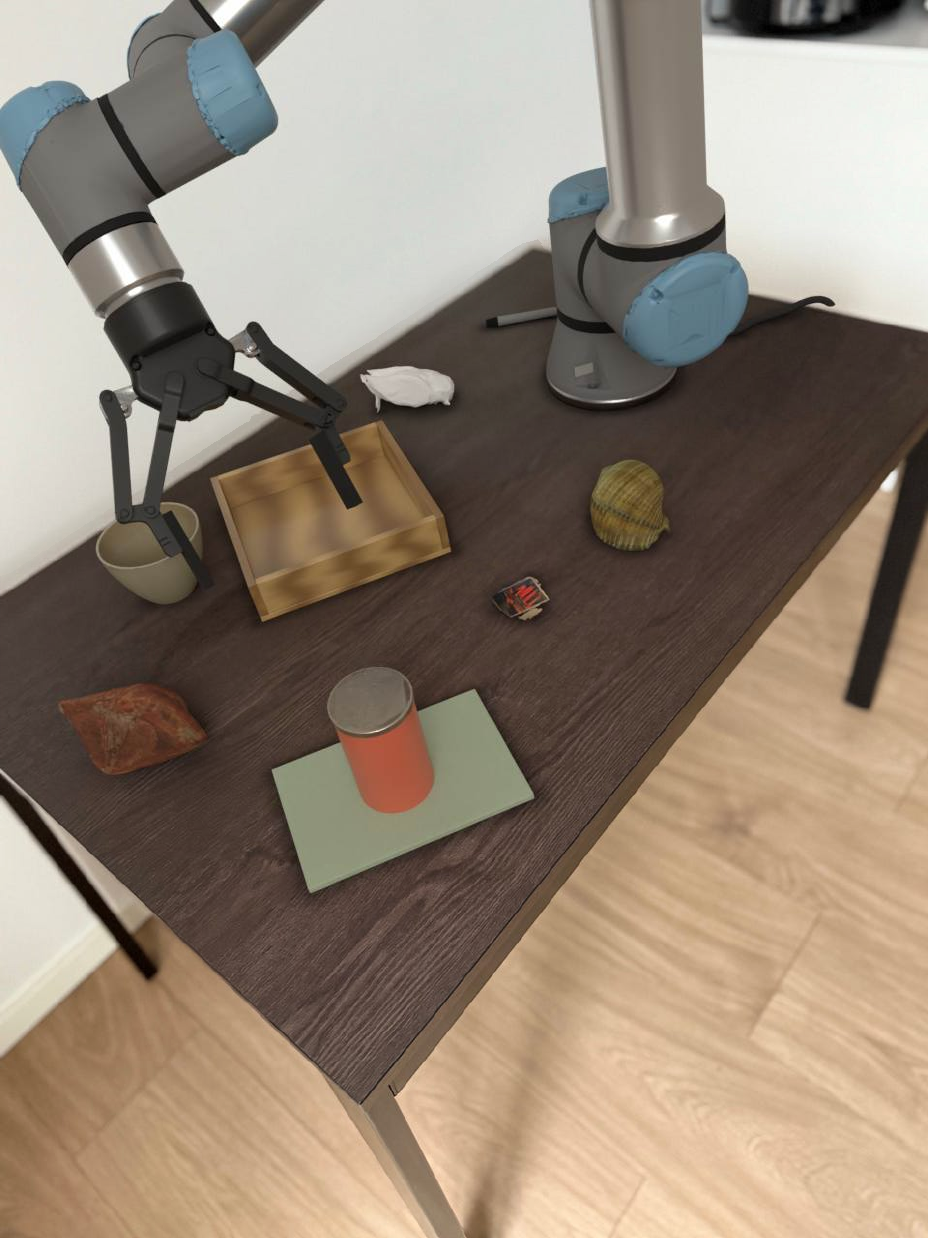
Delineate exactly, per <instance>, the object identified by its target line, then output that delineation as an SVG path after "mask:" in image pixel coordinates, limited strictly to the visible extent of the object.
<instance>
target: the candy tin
mask: <svg viewBox="0 0 928 1238" xmlns="http://www.w3.org/2000/svg"><path fill="white" fill-rule="evenodd" d="M326 709H327V710H326V711H327V714H328V717H329V721H330V722H331V724H332V726H333V727H334V729H335V732H336V734H337V737H338V740H339V743H340V742H341V745H342V748H343V750H344V753H345V755H346V758H347V761H348V763H349V766H350V769H351V771H352V774H353V776H354V779H355V782H356V784H357V787H358V790H359V792H360V795H361V797H362V799H363V800H364V802H365V803H366V804H367V805H368V806H369V807H371V808H372V809H374V810H376V811H379V812H383V813H400V812H404V811H407V810H410V809H412V808H414V807H415V806H417V805H419V804H420V803H421V802H422V801H423V800H424V799H425V798H426V797H427V796H428V794H429V793H430V791H431V789H432V787H433V783H434V770H433V766H432V763H431V759H430V756H429V752H428V748H427V745H426V741H425V738H424V734H423V730H422V727H421V723H420V720H419V716H418V713H417V711H418V710H417V706H416V702H415V695H414V690H413V687H412V684H411V682H410V680H409V679H408V678H407V677H406V675H404V674H403V673H401V672H400V671H398V670H396V669H393V668H390V667H386V666H385V667H384V666H369V667H365V668H362V669H359V670H355V671H354V672H352V673H350V674H347V675H346V676H344V678H342V679H341V680H340V681H339V682H338V683H337V684H336V685H335V686H334V688H332V690H331V692H330V694H329V697H328V699H327V705H326Z"/></svg>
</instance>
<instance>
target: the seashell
mask: <svg viewBox="0 0 928 1238" xmlns="http://www.w3.org/2000/svg"><path fill="white" fill-rule="evenodd" d="M664 493H665V491H664V484H663V482H662V480H661V477H660V476H659V474H658V473H657V471H656V470H655V469H654V468H653V467H651V466H650V465H649V464H647V463H646V462H643V461H641V460H637V459H624V460H621V461H619V462H617V463H615V464H614V463H613V464H610V465H607V466H602V468H601V471H600V473H599V477H598V479H597V482H596V484H595V487H594V489H593V491H592V492H591V497H590V508H589V513H590V520H591V525H592V527H593V531H594V532H595V536H597V537H598V538H599V539H600V540H601V541H602V542H603V543H604V544H606V545H608V546H610V547H613V548H615V549H617V550H621V551H626V552H627V551H631V552H636V551H644V550H648V549H649V548H650V547H651V546H652V544H654V543H655V542H656V541H657V540H658V539H659V537H660V534H661V533H662V532H663V531H665V532H666V533H671V531H670V530H671V529H670V520H669V518H668V516H666V515H665V514H664V513H663V501H664V495H665V494H664Z"/></svg>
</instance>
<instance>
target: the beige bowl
mask: <svg viewBox="0 0 928 1238" xmlns="http://www.w3.org/2000/svg"><path fill="white" fill-rule="evenodd" d="M170 510H172V512H173V514H174V515H175V517H176V519H177V520H178V522H179V524H180V525H181V527H182V529H183V530H184V532H185V534H186V536H187V537H188V539H189V541H190V542H191V544H192V546H193V547H194V549H195V551H196V552H197V554H198V556H199V557H200V559H201V561H202V562H203V555H204V543H203V542H204V541H203V534H202V533H203V532H202V528H201V522H200V520H199V516H198V514H197V512H196V511H195V510H194V509H193V508H191V507H190V506H188V505H186V504H184V503H180V502H171V501H165V502H164V501H163V502H161V505H160V512H161V514H162V515H163V514H165V513H166V512H168V511H170ZM95 554H96V556H97V558H98V560H99V561H100V562H101V564H102V565H103V566H104V568H105V569H106V570H107V571H108V572H109V573H110V574H111V575H112V577H114V578H115V579H116V581H117V582H119V583H120V584H121V585H123V586H124V587H125V588H126V589H128V590H129V591H130V592H132V593H133V594H135V595H137V596H139V597H141V598H143V599H144V600H147V601H148V602H151V603H153V604H156V605H162V606H163V605H164V606H165V605H172V604H175V603H178V602H180V601H183V600H184V599H186V598H188V596H190V595H191V594H192V593H193V592H194V591H195V589H196V587H197V585H198V583H199V582H198V581H197V579H196V577H195V575H194V574H193V572H192V570H191V569H190V567H189V565H188V564H187V562H186V560H185V559H184V557H183V555H182V554H181V553H179V554H177V555H175V556H174V557H172V558H170V557H168V556H167V555H166V554H165V553H164V551H163V550H162V548H161V546H160V545H159V543H158V541H157V540H156V538H155V536H154V535H153V533H152V531H151V530H150V528H149V527H148V525H146V524H145V523H143V522H135V523H127V524H120V523H118V522H117V520H116V519H114V520H113V521H112V522H111V523H110V524H108V525H107V526H106V527H105V528H104V529H103V531H102V532H101V533H100V535H99V536H98V538H97V541H96V545H95Z"/></svg>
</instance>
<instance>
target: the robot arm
mask: <svg viewBox="0 0 928 1238" xmlns="http://www.w3.org/2000/svg"><path fill="white" fill-rule="evenodd" d="M324 2H325V0H172V1H171V2H170V4H168V6H167V7H166V8H165V9H163V11H161V12H157V13H154V14H151V15H148V16H147V17H145V18H144V19H143V20H141V22H140V23H139V24H138V25H137V26H136V28H135V29H134V31H133V33H132V35H131V37H130V41H129V44H128V47H127V50H126V69H127V75H128V76H127V77H128V79H129V80H128V81H126V82H125V83H122V84H121V85H120V86H119V85H118V87H116V88H114V89H113V90H111V91H109V92H107V93H105V94H102V95H101V96H99V97H98V96H97V97H95V98H93V99H91V98H90V97H88V96H87V95H86V94H85V92H84V91H83V89H82V88H80V87H79V86H78V85H77V84H75V83H73V82H70V81H67V80H49V81H45V82H43V83H42V84H41V85H38V86H28V87H26V88H24V89H22V90H20V91H18V92H17V93H16V94H14V95H13V96H11V97H10V98H9V99H8V100H7V101H5V102H4V104H3V105H1V107H0V151H1V153H2V155H3V157H4V159H5V161H6V163H7V165H8V167H9V169H10V170H11V172H12V174H13V176H14V179H15V183H16V186H17V188H18V190H19V191H20V193H22V194H23V196H24V198H25V200H26V201H27V203H28V204H29V206H30V207H31V209H32V210H33V212H34V213H35V215H36V217H37V218H38V220H39V222H40V224H41V225H42V227H43V228H44V230H45V232H46V233H47V235H48V236H49V237H48V238H50V240H51V242H52V243H53V245H54V247H55V248H56V250H57V252H58V253H59V255H60V256H61V258H62V260H63V261H64V264H65V266H66V267H67V269H68V270H69V272H70V274H71V276H72V277H73V279H74V281H75V282H76V284H77V286H78V288H79V290H80V292H81V293H82V295H83V297H84V298H85V300H86V302H87V303H88V306H89V308H90V309H91V311H92V313H93V314H94V316H95V317H97V318H99V319H102V320H104V321H103V328H102V329H103V332H104V333H105V335H106V337H107V339H108V340H109V342H110V343H111V345H112V347H113V349H114V351H115V352H116V354H117V355H118V357H119V359H120V361H121V362H122V364H123V366H124V367H125V369H126V372H127V373H128V375H129V377H130V382H131V385H130V384H129V385H128V386H125V387H121V388H119V389H116V390H111V389H103V390H102V391H100V393H99V396H98V406H99V409H100V411H101V413H102V415H103V418H104V419H105V421H106V424H107V426H108V431H109V433H108V434H109V445H110V446H109V447H110V461H111V463H110V464H111V474H112V475H111V477H112V490H113V504H114V505H113V506H114V517H115V520H117V522H118V523H120V524H127V523H135V522H143V523H145V524H146V525H148V527H149V528H150V530H151V531H152V533H153V535H154V536H155V538H156V540H157V541H158V543H159V545H160V546H161V548H162V550H163V551H164V553H165V554H166V555H167V556H168V557H170V558H172V557H174V556H175V555H177V554H179V553H181V554H182V555H183V557H184V559H185V560H186V562H187V564H188V565H189V567H190V569H191V570H192V572H193V574H194V575H195V577H196V579H197V581H198V582H197V583H198V584H199V586H200V587H201V590H203V591H204V590H208V589H210V588H212V587H213V586H216V583H215V581H214V579H213V578H212V576H211V574H210V573H209V571H208V569H207V568H206V566H205V563H204V562H203V560H202V561H201V559H200V557H199V556H198V554H197V552H196V551H195V549H194V547H193V546H192V544H191V542H190V541H189V539H188V537H187V536H186V534H185V532H184V530H183V529H182V527H181V525H180V524H179V522H178V520H177V519H176V517H175V515H174V514H173V512H172V510H170V511H168V512H166V513H165V514H163V515H162V514H161V512H160V505H161V503H162V499H163V493H164V488H165V483H166V477H167V473H168V466H169V461H170V456H171V451H172V445H173V439H174V434H175V430H176V426H177V421H179V422H188V423H190V422H193V421H195V420H196V419H198V418H199V417H200V416H201V415H202V414H203V413H205V412H208V411H214V410H217V409H218V408H221V407H223V406H224V405H225V403H227V401H228V400H229V398H232V399H234V400H237V401H240V402H244V403H247V404H250V405H252V406H255V407H257V408H258V409H262V410H263V411H266V412H268V413H271V414H273V415H275V416H277V417H280V418H282V419H284V420H287V421H289V422H292V423H293V424H296V425H298V426H300V427H303V428H306V429H308V430H310V431H312V432H315V435H314V436H312V437H311V438H309V439H308V441H309V444H311V445H312V447H313V449H314V451H315V452H316V454H317V456H318V458H319V460H320V461H321V463H322V465H323V467H324V469H325V470H326V472H327V474H328V476H329V478H330V480H331V481H332V483H333V485H334V487H335V489H336V490H337V492H338V494H339V496H340V498H341V499H342V501H343V503H344V505H345V507H346V509H347V510H348V509H350V508H353V507H356V506H358V505H359V504H361V503H363V501H362V499H361V497H360V496H359V494H358V492H357V490H356V488H355V486H354V485H353V483H352V481H351V479H350V477H349V475H348V474H347V472H346V470H345V468H344V466H343V465H345V464H347V463H348V462H350V461H351V459H350V454H349V452H348V450H347V449H346V447H345V445H344V443H343V441H342V439H341V437H340V436H339V434H340V433H339V432H338V430H337V428H336V420H337V419H338V417H340V415H341V414H342V412H344V411H345V410H346V409H347V408H348V407H347V406H348V401H347V399H346V398H345V397H344V396H343V395H341V394H340V393H339V392H337V391H336V390H335V389H333V387H331V386H330V385H329V384H327V383H326V382H324V381H323V380H322V379H321V378H319V377H318V376H316V375H315V374H314V373H312V371H310V370H309V369H307V368H306V367H305V366H303V365H302V364H301V363H300V362H299V361H297V360H296V359H295V358H293V357H292V356H290V355H289V354H287V353H286V352H285V351H284V350H282V349H281V348H280V347H278V346H277V345H275V344H274V343H273V341H272V340H271V338H270V337H269V335H268V333H266V331H265V330H264V328H263V326H262V325H261V324H260V323H259V322H257V321H254V320H253V321H249V322H248V323H247V325H246V326H245V328H244V329H242V331H240V332H238V333H237V334H235V335H233V336H232V337H231V338H229V339H227V338H226V337H224V336H223V335H222V334H221V333H220V332H219V330H218V329H217V328H216V326H215V323H214V322H213V320H212V318H211V316H210V315H209V313H208V311H207V309H206V308H205V306H204V304H203V302H202V301H201V299H200V297H199V295H198V294H197V291H196V289H195V288H194V285H192V284H191V283H188V282H186V281H183V280H184V277H185V274H186V273H185V270H184V268H183V266H182V265H181V263H180V261H179V259H178V258H177V255H176V254H175V253H174V251H173V249H172V247H171V245H170V243H169V242H168V240H167V238H166V237H165V235H164V233H163V232H162V231H163V230H161V228H160V225H159V224H158V222H157V220H156V219H155V217H154V216H153V214H152V212H151V209H150V207H149V205H150V204H151V203H153V202H155V201H156V200H159V199H162V198H163V197H164V196H166V195H168V194H169V193H171V192H173V191H176V190H177V189H179V188H181V187H182V186H185V185H186V184H189V183H190V182H192V181H194V180H196V179H198V178H199V177H201V176H204V175H205V174H207V173H209V172H210V171H211V172H212V170H214V169H216V168H218V167H220V166H222V165H224V164H225V163H228V162H229V161H231V160H233V159H235V158H236V157H240V156H244V155H246V154H248V153H249V151H250V150H251V149H252V148H254V147H256V146H257V145H258V144H259V143H261V142H263V141H264V140H265V139H267V138H269V137H270V136H272V135H273V134H274V133H275V132H276V131H277V129H278V126H279V115H278V112H277V110H276V108H275V105H274V103H273V101H272V99H271V97H270V94H269V93H268V91H267V89H266V87H265V85H264V83H263V81H262V79H261V77H260V75H259V73H258V71H257V68H258V67H259V66H260V65H261V64H262V63H263V62H264V61H265V60H266V59H267V58H268V57H269V56H270V55H271V54H272V53H273V52H274V51H275V50H276V49H277V48H278V47H279V46H280V45H281V44H282V43H283V42H284V41H285V40H286V39H287V38H288V37H289V36H291V34H292V33H293V32H294V31H295V30H296V29H298V27H300V25H302V24H303V23H304V22H305V21H306V20H307V19H308V18H309V17H310V16H311V15H312V14H313V13H314V11H316V10H317V9H318V8H319V6H321V5H322V4H323V3H324ZM588 6H589V17H590V26H591V35H592V44H593V54H594V55H593V56H594V63H595V65H594V66H595V75H596V83H597V92H598V104H599V111H600V119H601V120H600V122H601V131H602V141H603V142H602V143H603V150H604V160H605V161H604V162H605V166H601V167H597V168H593V169H589V170H584V171H582V172H578V173H576V174H572V175H571V176H569V177H566V178H564V179H563V180H561V181H560V182H558V183H557V184H556V185H554V186H553V188H552V189H551V191H550V193H549V195H548V217H547V220H546V221H547V222H546V223H547V224H548V226H549V238H550V239H549V240H550V249H551V261H552V271H553V272H552V274H553V284H554V285H553V286H554V295H555V296H554V297H555V305H556V306H555V307H557V316H556V318H557V319H556V324H555V328H554V332H553V336H552V340H551V343H550V348H549V352H548V356H547V359H546V368H545V375H546V376H545V377H546V384H547V388H548V389H549V391H550V393H551V394H552V395H553V396H554V397H555V398H557V399H558V400H559V401H561V402H562V403H565V404H567V405H570V406H573V407H576V408H580V409H586V410H593V411H617V410H623V409H630V408H634V407H637V406H641V405H643V404H644V405H645V404H646V403H649V402H651V401H653V400H655V399H657V398H658V397H660V396H662V395H663V394H664V393H666V392H667V391H668V390H669V389H671V387H672V386H673V385H674V383H675V381H676V379H677V377H678V367H683V366H688V365H691V364H694V363H696V362H698V361H700V360H702V359H704V358H706V357H708V356H709V355H710V354H712V353H713V352H715V351H716V350H717V349H719V347H721V346H722V345H723V344H724V343H725V341H726V338H728V337H733V336H736V335H739V334H741V333H743V332H745V331H747V330H749V329H750V328H752V327H753V326H755V325H758V324H761V323H763V322H767V321H769V320H773V319H776V318H779V317H782V316H783V317H784V316H785V315H789V314H790V313H792V312H795V311H797V310H799V309H801V308H804V307H807V306H809V305H813V304H821V305H824V306H826V307H831V308H832V307H835V306H836V302H835V301H834V300H832V299H831V298H830V297H827V296H825V295H811V296H808V297H805V298H802V299H800V300H798V301H797V300H796V301H794V302H792V303H791V304H788V305H786V306H783V307H781V308H779V309H776V310H775V309H774V310H771V311H768V312H765V313H761V314H759V315H756V316H754V317H752V318H749V319H747V320H746V321H744V322H742V323H741V324H740V322H741V319H742V318H743V316H744V313H745V311H746V308H747V305H748V299H749V291H750V290H749V289H750V288H749V286H750V285H749V280H748V277H747V274H746V272H745V270H744V269H743V267H742V265H741V263H740V261H739V260H738V259H737V258H736V257H735V256H734V255H732V254H731V253H728V250H727V221H726V220H727V219H726V203H725V199H724V197H723V196H722V194H720V193H719V192H718V191H716V189H713V188H712V187H711V186H709V185H708V180H707V179H708V178H707V177H708V176H707V174H708V173H707V147H706V143H707V142H706V114H705V110H706V109H705V84H704V83H705V81H704V80H705V79H704V51H703V20H702V19H703V18H702V15H703V14H702V0H588ZM237 353H238V354H239V353H240V354H242V355H244V356H245V357H246V358H247V359H254V358H255V359H256V360H257V361H258V362H259V364H261V365H262V366H263V367H264V368H265V369H267V370H268V371H270V372H271V373H273V374H274V375H275V376H276V377H278V378H279V379H281V380H282V381H283V382H284V383H286V384H287V385H289V386H290V387H291V388H293V389H294V390H295V391H297V392H298V393H299V394H301V396H303V397H305V398H306V399H307V400H308V401H310V402H311V403H313V404H314V405H316V406H317V407H318V408H319V409H318V408H316V407H315V406H312V405H309V404H308V403H305V402H303V401H300V400H298V399H296V398H293V397H291V396H289V395H288V394H284V393H282V392H280V391H279V390H278V391H277V390H276V389H273V388H271V387H269V386H267V385H264V384H262V383H260V382H258V381H255V379H253V378H252V377H251V376H248V375H245V374H243V373H241V372H239V371H237V370H235V362H236V354H237ZM135 401H138V402H140V403H141V404H143V405H145V406H147V407H149V408H151V409H153V410H155V411H157V412H158V418H157V422H156V423H157V424H156V429H155V436H154V441H153V446H152V452H151V457H150V462H149V467H148V471H147V478H146V483H145V488H144V494H143V499H142V503H139V504H133V495H132V478H131V477H132V476H131V464H130V449H129V435H128V425H127V424H128V423H127V419H129V418H130V417H131V416H132V413H133V406H132V404H133V403H134V402H135Z"/></svg>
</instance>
